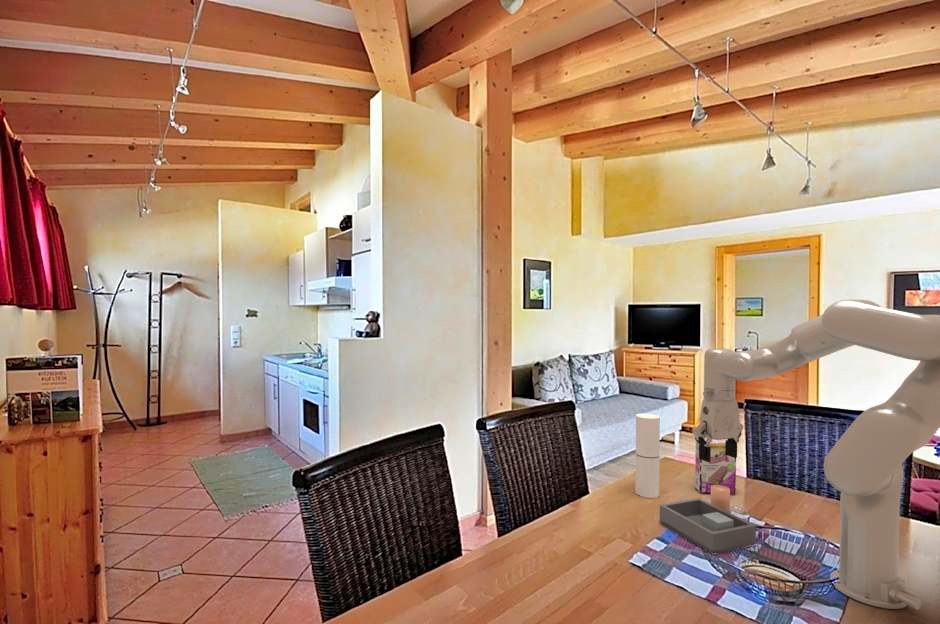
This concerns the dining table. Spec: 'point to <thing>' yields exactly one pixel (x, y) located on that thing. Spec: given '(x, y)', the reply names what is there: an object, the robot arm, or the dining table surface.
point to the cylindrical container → (647, 455)
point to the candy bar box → (715, 469)
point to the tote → (689, 525)
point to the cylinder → (720, 497)
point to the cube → (716, 521)
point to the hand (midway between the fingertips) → (718, 458)
